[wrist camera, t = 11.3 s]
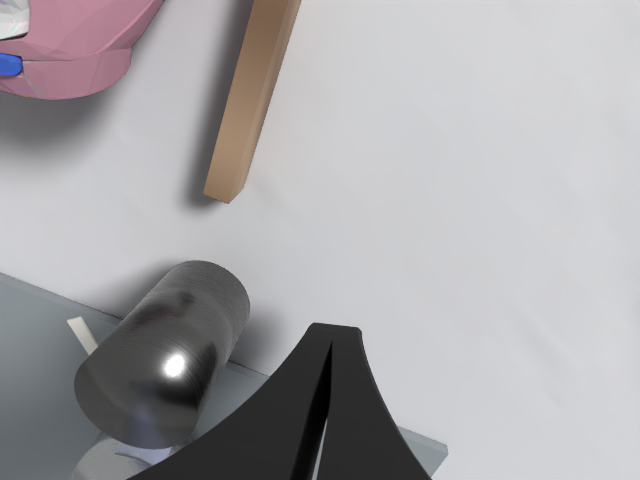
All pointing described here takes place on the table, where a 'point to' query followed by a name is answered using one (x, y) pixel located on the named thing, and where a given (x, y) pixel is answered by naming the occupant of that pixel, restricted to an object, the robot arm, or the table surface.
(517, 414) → the table surface
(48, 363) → the plate
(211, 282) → the crank
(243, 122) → the bay
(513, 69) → the table surface
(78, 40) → the video game controller
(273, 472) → the robot arm
